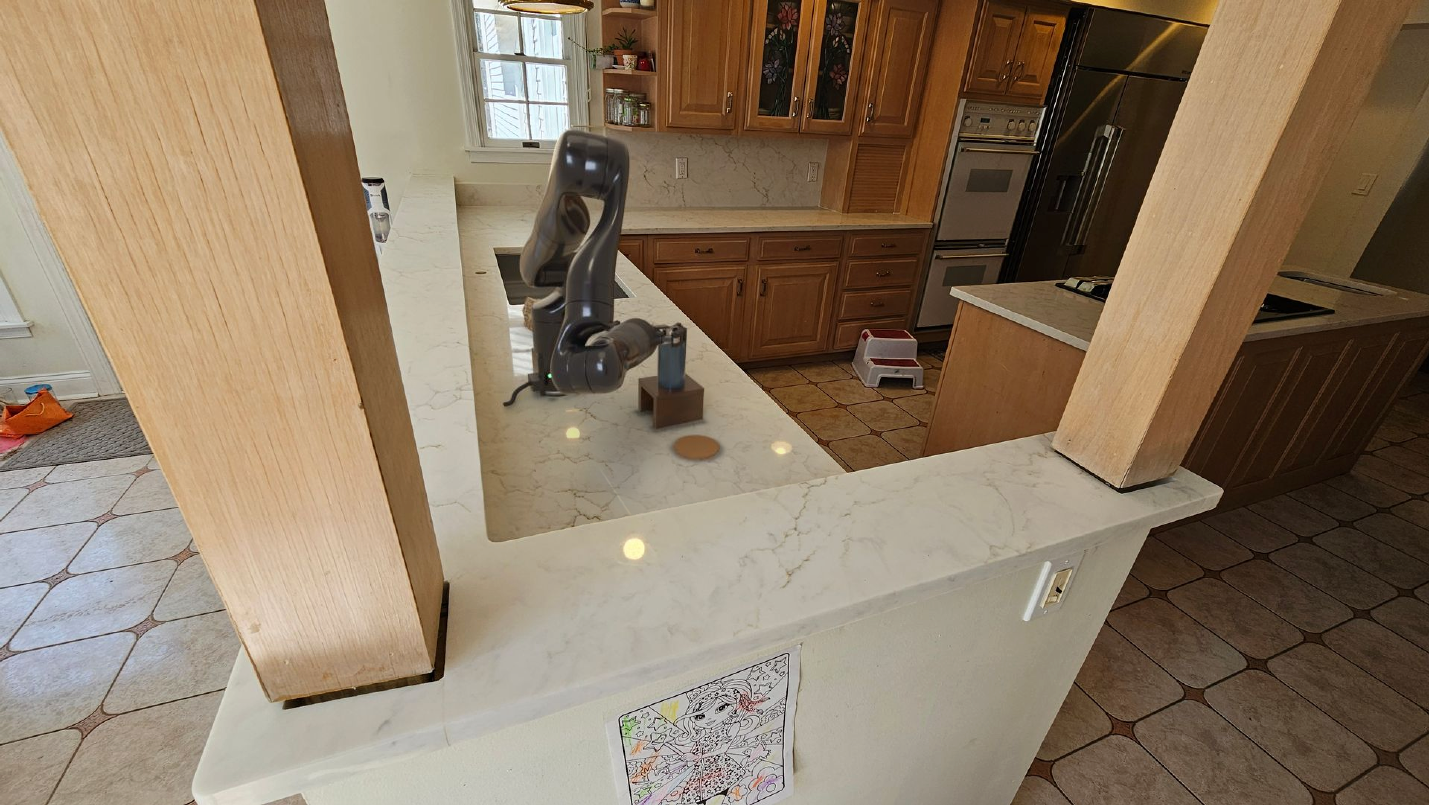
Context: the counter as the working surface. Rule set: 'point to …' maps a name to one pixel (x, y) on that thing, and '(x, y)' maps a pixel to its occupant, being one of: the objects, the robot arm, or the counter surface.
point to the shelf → (671, 401)
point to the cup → (671, 366)
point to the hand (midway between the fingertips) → (658, 325)
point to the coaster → (696, 447)
